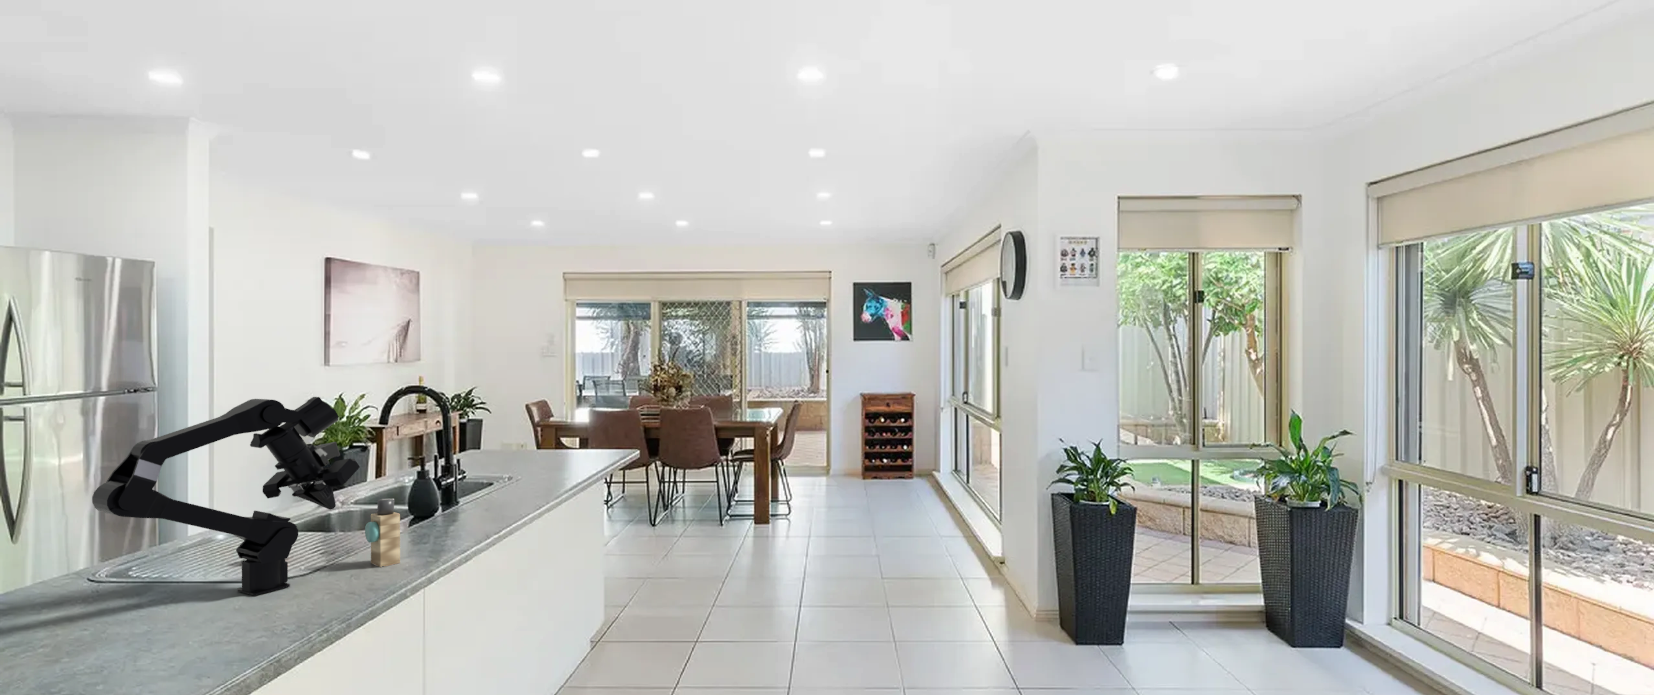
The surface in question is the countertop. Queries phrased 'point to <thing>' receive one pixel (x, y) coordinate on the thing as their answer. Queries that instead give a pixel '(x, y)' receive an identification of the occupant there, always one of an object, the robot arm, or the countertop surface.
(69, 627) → the countertop surface
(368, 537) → the knob
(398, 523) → the mount
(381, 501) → the dial
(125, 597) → the countertop surface
